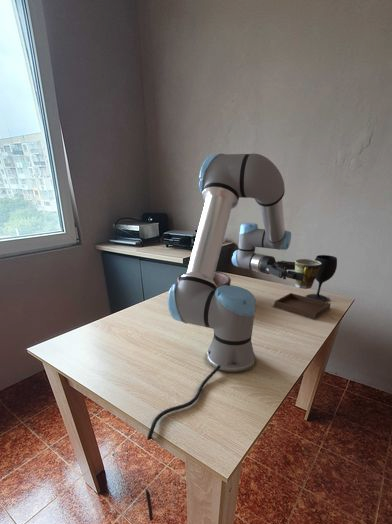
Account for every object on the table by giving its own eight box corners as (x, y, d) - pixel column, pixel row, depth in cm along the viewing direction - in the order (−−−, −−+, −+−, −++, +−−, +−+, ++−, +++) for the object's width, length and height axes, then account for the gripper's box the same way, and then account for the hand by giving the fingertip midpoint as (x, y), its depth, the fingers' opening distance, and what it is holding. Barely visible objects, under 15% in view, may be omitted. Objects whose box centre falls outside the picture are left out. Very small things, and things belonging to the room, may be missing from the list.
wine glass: (330, 297, 144) (340, 256, 134) (325, 304, 136) (336, 261, 126) (308, 293, 149) (317, 253, 138) (303, 299, 141) (312, 257, 131)
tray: (314, 319, 121) (316, 313, 120) (273, 307, 133) (274, 301, 131) (329, 309, 131) (330, 303, 130) (289, 298, 142) (290, 292, 141)
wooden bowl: (197, 287, 155) (197, 267, 150) (238, 297, 142) (240, 276, 137) (167, 300, 137) (166, 279, 132) (210, 313, 125) (211, 290, 120)
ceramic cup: (292, 281, 126) (297, 257, 121) (316, 284, 123) (322, 260, 118) (288, 290, 116) (292, 265, 111) (314, 294, 113) (320, 268, 107)
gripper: (276, 267, 137) (320, 276, 125) (247, 278, 122) (294, 290, 109) (278, 250, 133) (324, 259, 121) (248, 260, 118) (298, 270, 106)
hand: (310, 274), depth 115 cm, fingers closed on ceramic cup, 12 cm apart
